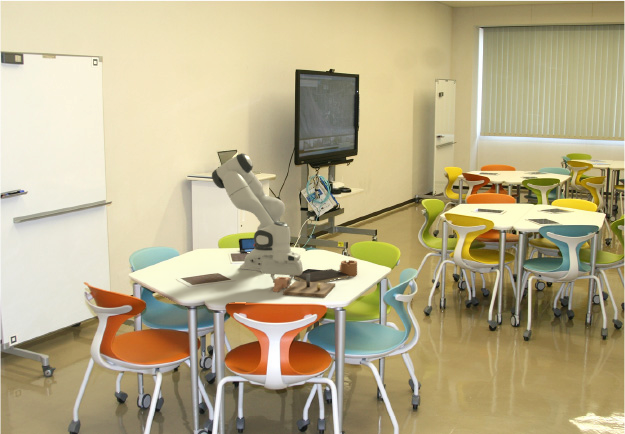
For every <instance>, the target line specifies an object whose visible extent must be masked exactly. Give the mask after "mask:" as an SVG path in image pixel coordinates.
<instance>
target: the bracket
mask: <svg viewBox="0 0 625 434" xmlns="http://www.w3.org/2000/svg"><path fill="white" fill-rule="evenodd" d="M339 272H342V273H345V274H348V276H353V277H356V275H357V276H358V261H357V260H351V259H349V260H348V261H347V260H342V261H340V265H339Z"/></svg>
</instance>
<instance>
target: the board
mask: <svg viewBox="0 0 625 434" xmlns="http://www.w3.org/2000/svg"><path fill="white" fill-rule="evenodd" d="M318 283H320V290H319V291H318V290H317V284H318ZM335 287H336V283H335V282H333V283H332V282H323V283H321V282H310V287H306V282H304V281H300V280H295V281H294V282H293V283H291V284H290V286H289V287H287V288H285V289H284V290H283V291H282V295H283V296H284V295H285V296H294V297H295V296H296V297H297V296H298V297H310V298H311V297H313V298H326V296H327V295H328V294H329V293H331V292H332V290H333V289H334V288H335Z"/></svg>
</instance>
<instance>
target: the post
mask: <svg viewBox="0 0 625 434" xmlns="http://www.w3.org/2000/svg"><path fill="white" fill-rule="evenodd" d="M306 287H310V274H306Z"/></svg>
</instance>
